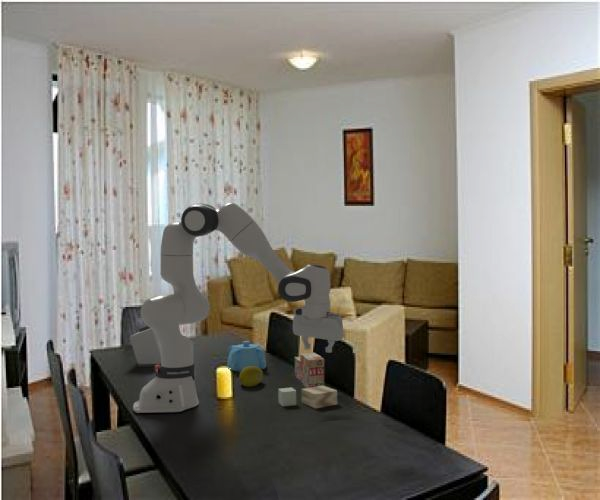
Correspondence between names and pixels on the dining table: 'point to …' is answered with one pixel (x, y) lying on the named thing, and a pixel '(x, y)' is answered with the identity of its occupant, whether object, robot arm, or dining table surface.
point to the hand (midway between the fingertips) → (317, 350)
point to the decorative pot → (246, 356)
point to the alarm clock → (146, 347)
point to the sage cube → (287, 396)
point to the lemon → (250, 376)
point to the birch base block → (319, 396)
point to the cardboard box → (310, 369)
